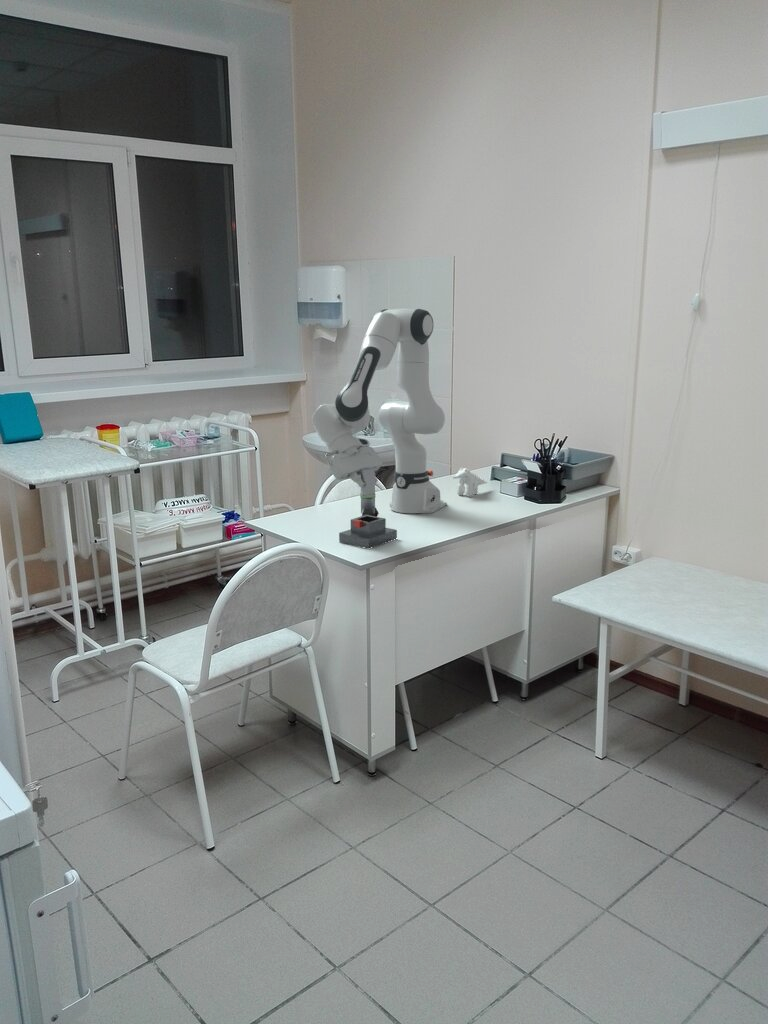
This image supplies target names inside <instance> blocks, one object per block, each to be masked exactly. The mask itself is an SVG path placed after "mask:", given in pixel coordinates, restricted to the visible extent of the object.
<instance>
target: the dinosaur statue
mask: <svg viewBox="0 0 768 1024" xmlns="http://www.w3.org/2000/svg"><path fill="white" fill-rule="evenodd" d="M452 478H453V479H458V484H457V487H456V489H457V491H456V492H457V495H458V496H460V495H461V496H464V495H465V496H466V497H467V496H471V497H473V495H474V494H476V495H478V494H477V493H479V492H478V490H479V488H478V487H479V486H481V485H484V484H488V482H487V481H485V479H484V478H481V476H479V475H477V473H475V474H474V473H473V472H471V470H470V469H468V468H466V467H460V469H458V472H457V473H456V474H455V475H454V476H452Z"/></svg>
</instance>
